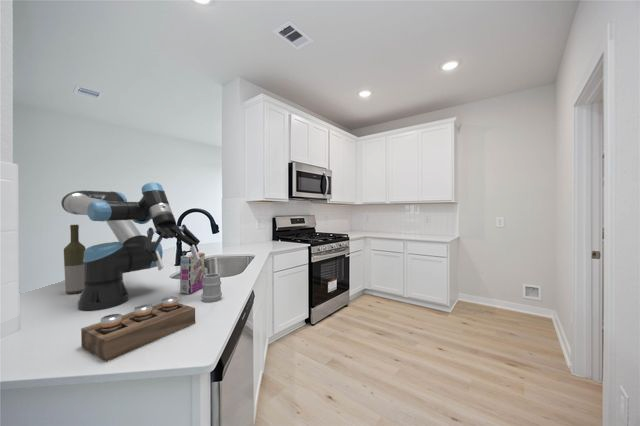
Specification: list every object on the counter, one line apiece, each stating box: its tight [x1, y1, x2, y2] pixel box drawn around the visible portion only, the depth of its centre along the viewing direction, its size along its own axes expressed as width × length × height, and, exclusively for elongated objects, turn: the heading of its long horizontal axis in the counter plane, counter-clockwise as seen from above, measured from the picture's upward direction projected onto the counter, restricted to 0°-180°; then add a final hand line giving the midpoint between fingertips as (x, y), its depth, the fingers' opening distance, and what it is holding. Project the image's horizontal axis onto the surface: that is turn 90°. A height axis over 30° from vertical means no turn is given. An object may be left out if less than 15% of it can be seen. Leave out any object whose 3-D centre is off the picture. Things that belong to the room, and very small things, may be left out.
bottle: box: [63, 224, 87, 295], centre depth 114 cm, size 7×7×30 cm
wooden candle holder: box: [80, 302, 196, 362], centre depth 77 cm, size 14×24×5 cm, turn 151°
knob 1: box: [99, 313, 123, 335], centre depth 70 cm, size 4×4×5 cm
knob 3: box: [161, 296, 179, 313], centre depth 84 cm, size 4×4×5 cm
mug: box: [201, 267, 223, 303], centre depth 107 cm, size 8×12×12 cm, turn 48°
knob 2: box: [133, 304, 153, 323], centre depth 77 cm, size 4×4×5 cm
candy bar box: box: [179, 252, 206, 295], centre depth 117 cm, size 11×5×16 cm, turn 172°
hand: (180, 264), depth 97 cm, fingers open, 13 cm apart
